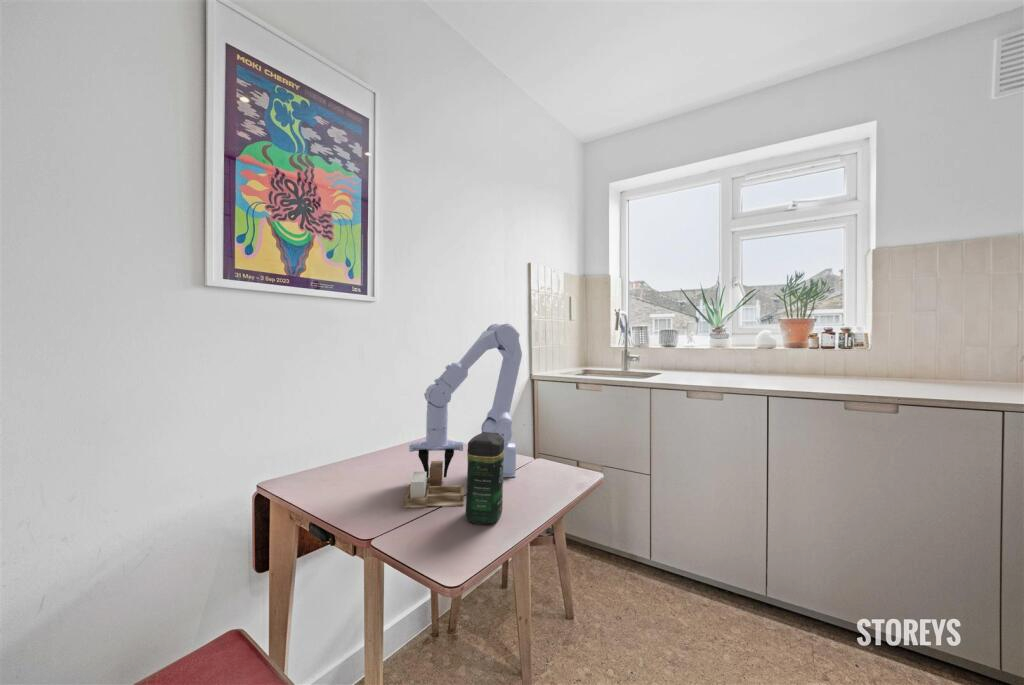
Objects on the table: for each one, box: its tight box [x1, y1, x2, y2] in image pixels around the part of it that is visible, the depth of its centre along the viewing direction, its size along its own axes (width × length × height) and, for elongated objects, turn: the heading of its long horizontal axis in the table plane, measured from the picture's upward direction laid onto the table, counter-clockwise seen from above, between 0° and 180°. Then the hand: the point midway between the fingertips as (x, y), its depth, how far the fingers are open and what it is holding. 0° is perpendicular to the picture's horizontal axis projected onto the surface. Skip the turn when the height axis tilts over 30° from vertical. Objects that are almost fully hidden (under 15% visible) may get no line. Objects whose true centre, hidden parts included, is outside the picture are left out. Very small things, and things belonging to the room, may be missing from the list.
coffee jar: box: [465, 431, 504, 525], centre depth 90 cm, size 10×8×19 cm
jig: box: [402, 482, 465, 508], centre depth 99 cm, size 14×10×2 cm
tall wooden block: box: [428, 460, 444, 486], centre depth 110 cm, size 7×3×5 cm, turn 7°
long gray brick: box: [409, 471, 428, 499], centre depth 99 cm, size 3×7×5 cm, turn 7°
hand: (436, 476), depth 110 cm, fingers open, 4 cm apart
